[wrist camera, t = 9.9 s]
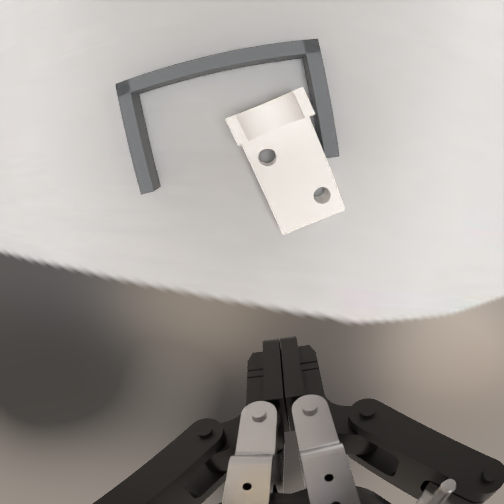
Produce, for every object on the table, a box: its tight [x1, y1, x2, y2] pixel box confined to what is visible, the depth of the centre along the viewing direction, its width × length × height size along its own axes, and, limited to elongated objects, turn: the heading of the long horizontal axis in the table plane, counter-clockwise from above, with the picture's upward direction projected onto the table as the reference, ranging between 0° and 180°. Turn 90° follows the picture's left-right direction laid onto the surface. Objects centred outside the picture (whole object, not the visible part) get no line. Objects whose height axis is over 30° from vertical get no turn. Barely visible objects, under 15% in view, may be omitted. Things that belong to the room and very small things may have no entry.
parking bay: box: [116, 39, 339, 194], centre depth 30 cm, size 12×21×2 cm, turn 101°
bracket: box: [225, 87, 345, 235], centre depth 30 cm, size 13×7×8 cm, turn 24°
